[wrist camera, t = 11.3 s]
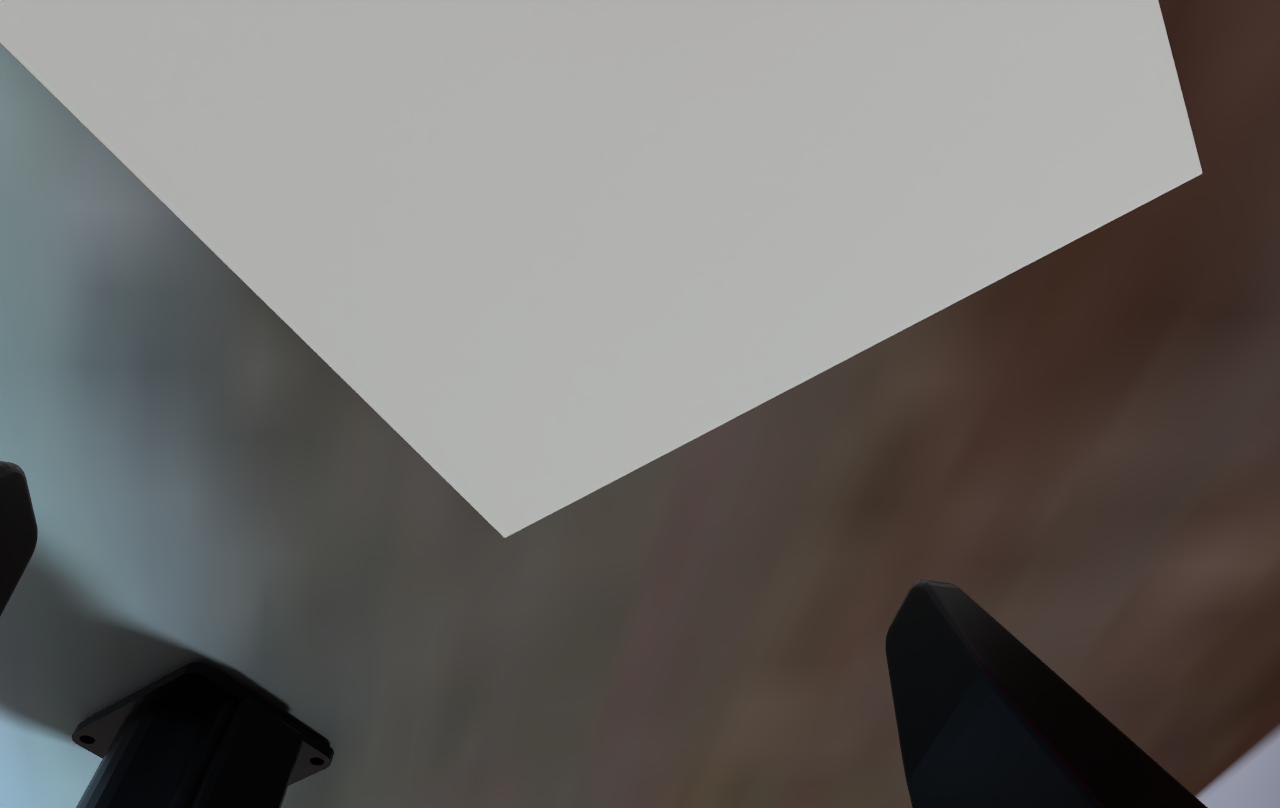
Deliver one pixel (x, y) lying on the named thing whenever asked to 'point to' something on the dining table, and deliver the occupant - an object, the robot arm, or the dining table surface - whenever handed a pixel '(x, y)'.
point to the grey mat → (614, 189)
